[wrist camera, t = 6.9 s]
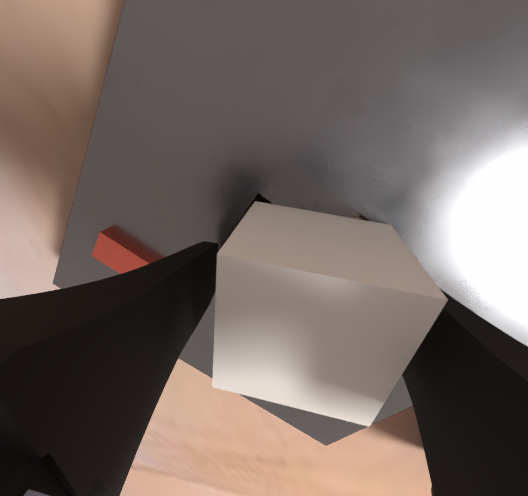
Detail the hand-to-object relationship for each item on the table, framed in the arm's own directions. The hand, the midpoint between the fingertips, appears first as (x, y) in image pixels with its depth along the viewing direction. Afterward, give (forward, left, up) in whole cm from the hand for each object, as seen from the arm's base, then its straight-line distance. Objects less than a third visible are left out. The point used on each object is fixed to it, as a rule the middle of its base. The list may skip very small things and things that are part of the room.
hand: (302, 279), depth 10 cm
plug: (0, 0, -3) cm, 3 cm away
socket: (0, 0, -3) cm, 3 cm away
